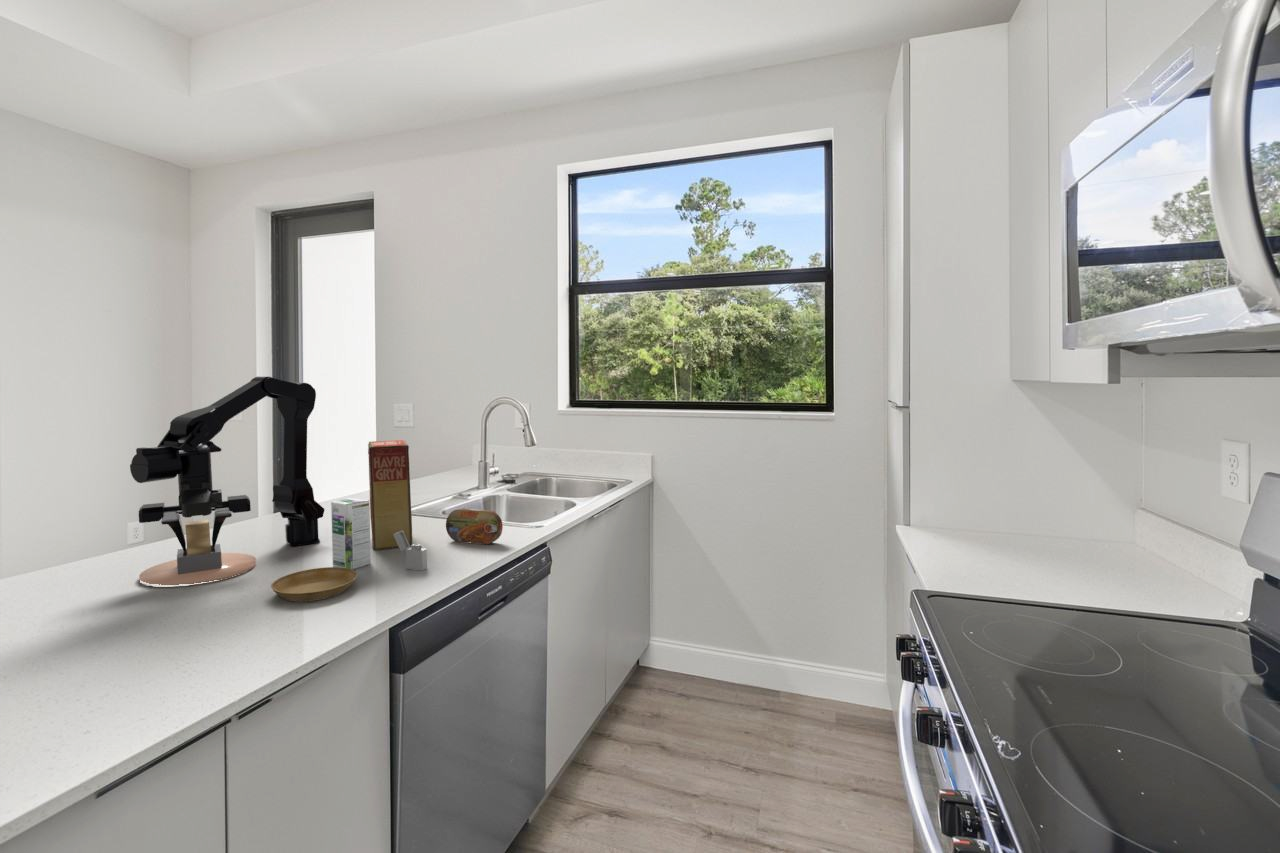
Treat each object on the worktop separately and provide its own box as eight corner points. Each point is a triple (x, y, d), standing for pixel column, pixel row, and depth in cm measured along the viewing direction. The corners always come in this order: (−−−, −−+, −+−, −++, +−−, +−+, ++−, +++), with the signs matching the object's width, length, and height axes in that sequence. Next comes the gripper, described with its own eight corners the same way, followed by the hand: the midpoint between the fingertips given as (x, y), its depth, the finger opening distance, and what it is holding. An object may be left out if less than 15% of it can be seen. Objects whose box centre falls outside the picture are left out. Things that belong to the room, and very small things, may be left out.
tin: (445, 541, 154) (444, 508, 153) (452, 538, 157) (452, 505, 156) (498, 546, 149) (497, 512, 149) (504, 543, 152) (504, 509, 152)
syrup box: (331, 567, 132) (329, 501, 131) (355, 560, 138) (353, 496, 136) (348, 571, 130) (346, 504, 128) (372, 563, 135) (370, 499, 134)
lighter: (427, 567, 132) (426, 531, 132) (422, 570, 131) (421, 533, 130) (399, 565, 134) (398, 529, 133) (394, 567, 132) (392, 531, 132)
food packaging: (370, 537, 157) (367, 440, 155) (409, 533, 161) (407, 439, 159) (371, 550, 145) (368, 446, 143) (413, 546, 149) (411, 444, 147)
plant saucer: (368, 593, 118) (368, 580, 117) (282, 613, 107) (281, 598, 107) (343, 574, 128) (343, 562, 128) (263, 591, 118) (262, 578, 118)
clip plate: (252, 552, 143) (251, 533, 143) (259, 575, 127) (258, 554, 126) (142, 567, 131) (141, 547, 131) (135, 595, 115) (134, 571, 115)
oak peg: (211, 560, 132) (208, 519, 131) (211, 565, 128) (209, 523, 128) (188, 563, 129) (185, 522, 128) (188, 568, 126) (185, 526, 125)
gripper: (134, 485, 115) (139, 566, 117) (250, 476, 126) (254, 550, 128) (138, 477, 124) (143, 552, 126) (247, 469, 135) (250, 538, 137)
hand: (199, 548), depth 129 cm, fingers open, 5 cm apart
